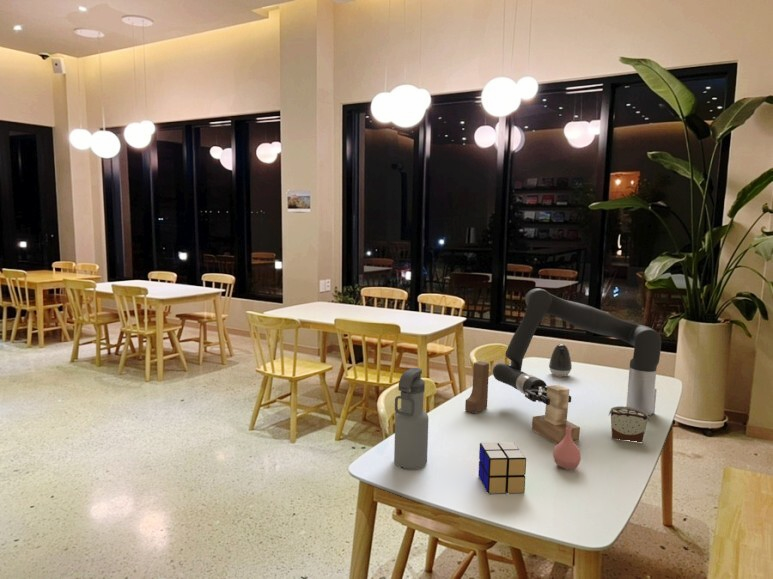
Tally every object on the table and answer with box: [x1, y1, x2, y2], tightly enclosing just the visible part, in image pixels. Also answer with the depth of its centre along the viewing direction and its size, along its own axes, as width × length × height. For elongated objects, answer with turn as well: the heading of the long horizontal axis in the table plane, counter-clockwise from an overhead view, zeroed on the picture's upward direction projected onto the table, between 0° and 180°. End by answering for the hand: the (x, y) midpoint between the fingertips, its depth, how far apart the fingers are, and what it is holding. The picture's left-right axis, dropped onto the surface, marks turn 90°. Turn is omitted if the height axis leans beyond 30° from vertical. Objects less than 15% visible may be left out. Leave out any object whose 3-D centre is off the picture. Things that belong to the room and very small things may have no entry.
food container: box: [608, 405, 651, 443], centre depth 172 cm, size 12×6×10 cm, turn 71°
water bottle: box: [393, 367, 429, 470], centre depth 149 cm, size 10×10×28 cm
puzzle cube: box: [477, 441, 527, 494], centre depth 139 cm, size 10×10×10 cm
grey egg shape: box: [548, 343, 573, 378], centre depth 244 cm, size 10×10×15 cm
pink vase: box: [552, 427, 582, 470], centre depth 149 cm, size 8×8×12 cm
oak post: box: [544, 384, 571, 425], centre depth 172 cm, size 5×5×12 cm
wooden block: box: [464, 360, 490, 414], centre depth 195 cm, size 9×4×18 cm, turn 138°
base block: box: [531, 414, 581, 445], centre depth 173 cm, size 9×13×5 cm
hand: (559, 400), depth 171 cm, fingers open, 8 cm apart
